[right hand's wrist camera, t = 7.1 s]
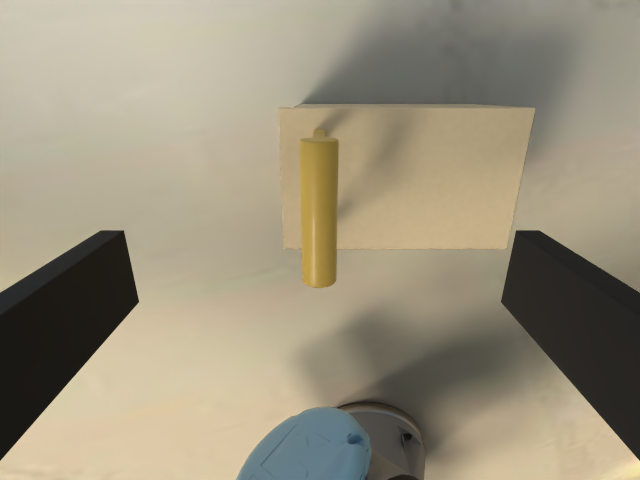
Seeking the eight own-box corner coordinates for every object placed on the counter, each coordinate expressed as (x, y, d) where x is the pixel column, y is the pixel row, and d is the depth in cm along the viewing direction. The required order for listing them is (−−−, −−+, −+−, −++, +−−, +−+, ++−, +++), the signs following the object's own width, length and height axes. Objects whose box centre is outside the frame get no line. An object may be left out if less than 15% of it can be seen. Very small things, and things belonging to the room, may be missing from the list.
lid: (284, 243, 27) (269, 307, 19) (279, 107, 24) (257, 114, 15) (500, 243, 27) (577, 307, 19) (527, 107, 24) (636, 114, 15)
